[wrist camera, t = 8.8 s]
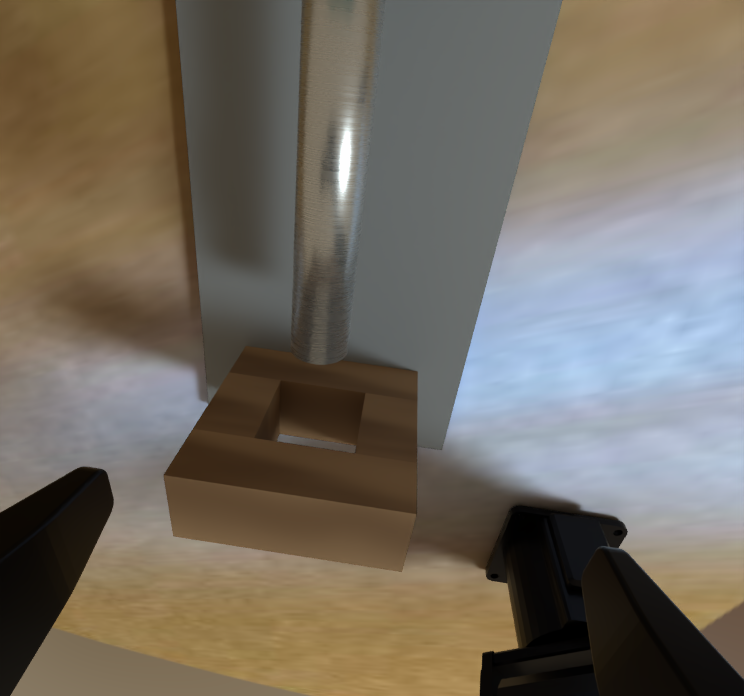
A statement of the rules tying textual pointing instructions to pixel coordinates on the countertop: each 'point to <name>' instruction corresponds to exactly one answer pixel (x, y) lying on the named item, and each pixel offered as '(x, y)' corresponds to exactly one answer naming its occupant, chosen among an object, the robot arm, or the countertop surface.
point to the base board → (383, 181)
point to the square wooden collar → (302, 461)
